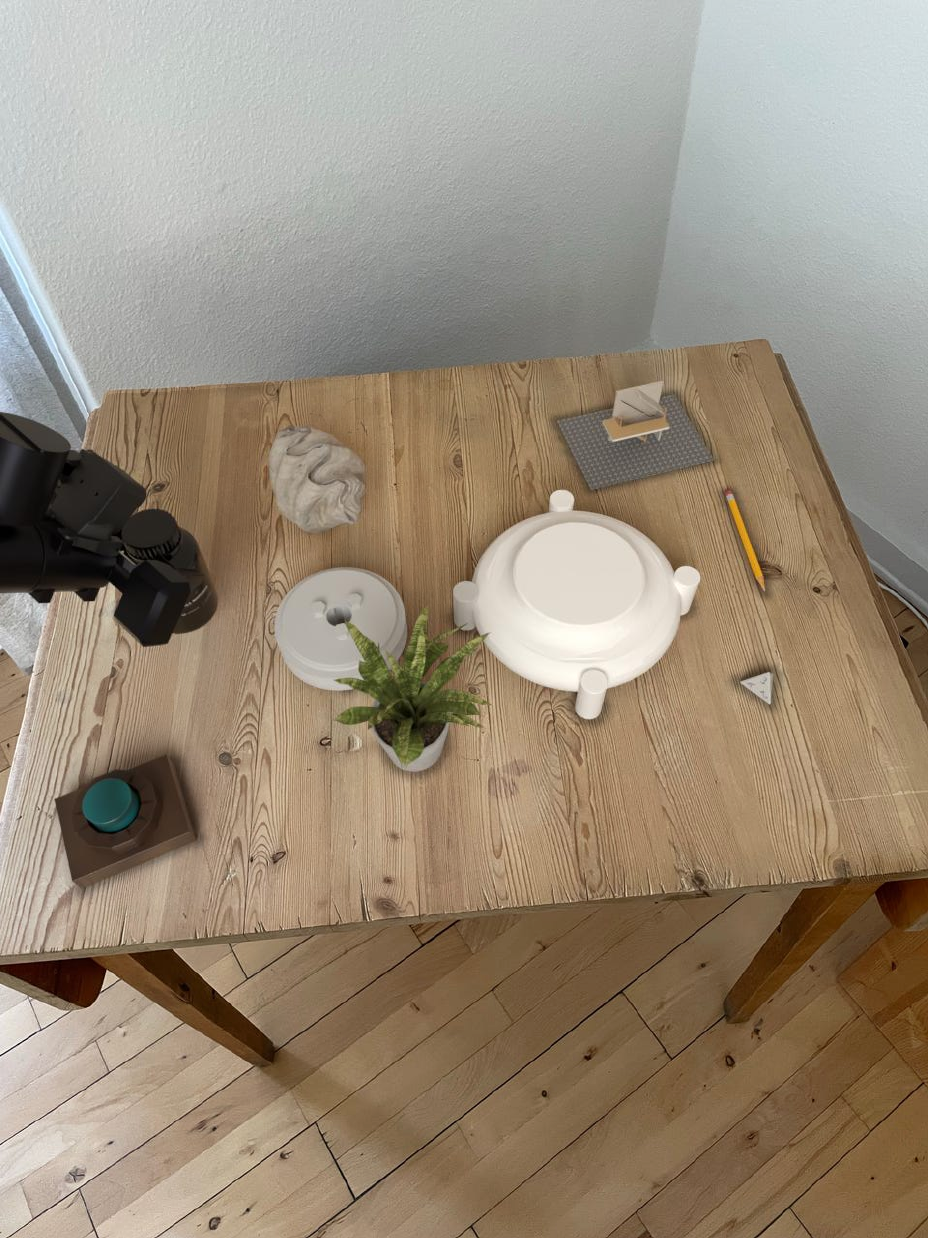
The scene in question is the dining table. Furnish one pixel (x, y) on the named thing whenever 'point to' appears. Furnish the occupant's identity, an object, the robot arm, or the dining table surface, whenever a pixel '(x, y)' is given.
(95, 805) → the press top
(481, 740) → the dining table surface
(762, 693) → the tetrahedral die
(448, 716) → the house plant
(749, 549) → the pencil
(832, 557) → the dining table surface
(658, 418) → the napkin holder
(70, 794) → the button housing
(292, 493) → the seashell
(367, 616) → the lid
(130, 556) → the supplement bottle
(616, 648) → the round stand with pegs
